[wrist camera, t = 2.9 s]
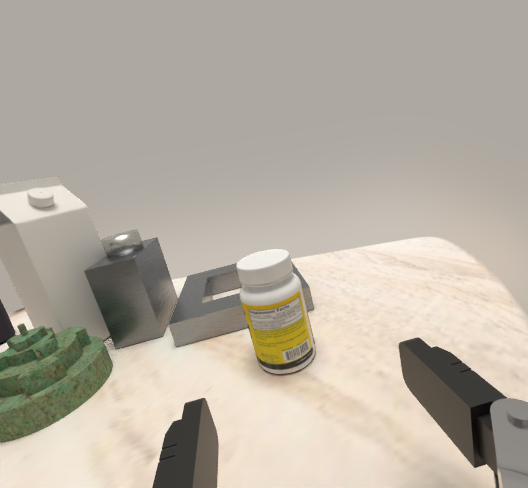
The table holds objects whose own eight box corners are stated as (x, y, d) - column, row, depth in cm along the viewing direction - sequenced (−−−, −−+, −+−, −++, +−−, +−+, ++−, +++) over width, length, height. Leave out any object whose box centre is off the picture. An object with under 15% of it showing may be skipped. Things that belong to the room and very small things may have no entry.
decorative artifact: (135, 363, 29) (76, 352, 34) (109, 297, 27) (51, 296, 32) (16, 460, 20) (-38, 427, 25) (-33, 373, 19) (-81, 356, 24)
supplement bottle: (270, 337, 27) (247, 250, 25) (321, 338, 25) (301, 243, 23) (248, 374, 23) (219, 273, 21) (308, 379, 21) (282, 268, 19)
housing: (104, 366, 29) (59, 260, 26) (144, 305, 43) (116, 230, 40) (314, 309, 30) (291, 201, 27) (287, 267, 44) (270, 192, 41)
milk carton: (45, 351, 36) (-32, 192, 31) (100, 319, 41) (43, 181, 37) (76, 359, 32) (-5, 180, 27) (132, 323, 38) (73, 169, 33)
